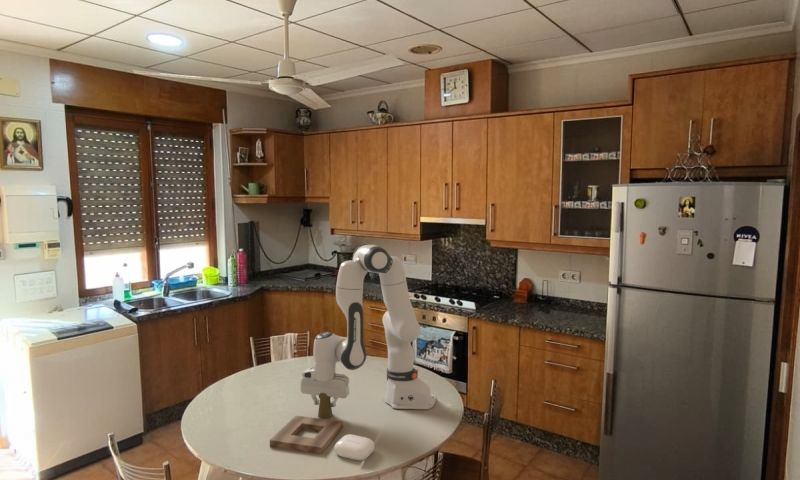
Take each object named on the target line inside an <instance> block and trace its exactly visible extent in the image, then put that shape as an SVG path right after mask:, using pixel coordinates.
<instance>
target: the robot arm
mask: <svg viewBox="0 0 800 480" xmlns="http://www.w3.org/2000/svg"><path fill="white" fill-rule="evenodd" d="M368 272H371V273H376V274H378V276H379V281H380V288H381V293H382V298H383V304H384V305H385V307H386V311H385V312H384V313H383V316H382V324H383V327H384V336H385V342H386V348H387V367H386V381H387V383H386V389H385V391H386V392H385V394H384V400H383V401H384V402H385V403H386V404H388V405H390V406H391V408H393V409H399V410H400V409H402V410H404V409H405V410H430V409H432V408H433V407H434V405H436V402H437V401H436V398H437V397H436V396H435V395H434V394H431V389H430V385H429V384H428V383H426V382H425V381H424V380H422V379H421V378H420V377H419V375H418V374H419V369H418V368H416V369H415V367H414V349H413V347H412V342H414V341H416V340H417V339H418V338H419V336H420V335H421V326H420V324H419V322H418V319H417V317H416V314H415V311H414V307H413V305H412V302H411V299H410V294H409V289H408V288H409V287H408V283H407V276H406V273H405V269H404V266H403V263H402V260H401V259H400V258H399V257H397V256H394V255H390V254H389V252H388V251H387V250H386V249H385V248H384V247H381V246H378V245H376V244H366V243H364V244H360V245H359V246H358V247H356V248H355V250H354V251H353V254H352V255H351V257H350V259H349V260H345V261H344V262H342V263H341V264H340V265H339V270H338V273H337V278H336V285H335V286H336V288H335V299H336V303H337V306H338V307H339V308H340V309H341V311H342V313H343V314H344V316H345V319H346V323H347V324H346V325H347V326H346V327H347V332H346V333H347V334H346V336H340V335H337V334H335V333H333V332H332V331H324V332H320V333H318V334H317V335H316V336H315V337H314V342H313V351H312V353H313V354H312V355H313V359H314V363H313V366H309V367H308V368H306V369H305V370H304V371H303V372H302V373H301V375H302V378H301V381H300V392H301V393H302V394H304V395H305V394H306V395H311V399H312V400H313V405H314V406H319V403H320V399H318V397H317V396H319V394H320V393H325V394H327V396H329V397H331V398H332V399H333V401H331V408H336V407H337V402H338V399H346V398H347V397H348V396H349V395H350V387H349V383H350V378H349V377H348V376H347V375H346V374H344V373H343V374H341V373H336V372H337V370H336V369H337V367H336V364H337V363H338V362H340V363H341V364H342V365H343V366H344V367H345V368H346V370H347V369H348V370H350V371H355V370H357V369H360V368H361V367H363V365H364V364H365V362H366V360H367V350H366V348H365V344H364V310H363V309H364V308H363V294H364V293H363V291H364V281H365V277H366V275H367V274H368Z"/></svg>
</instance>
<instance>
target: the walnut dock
mask: <svg viewBox="0 0 800 480" xmlns="http://www.w3.org/2000/svg"><path fill="white" fill-rule="evenodd" d="M343 429H344V421H341V420H340V421H339V420H334V419H328V418H327V419H322V418H319V417H311V416H310V417H309V416H301V415H294V417H293V418H291V420H289V422H287V423H286V424H285V425H284V426H283V427H282V428H281V429H280V430H279V431H277V432H276V434H274V435H273V436H272V437H271V438H270V439H269V447H270V448H276V449H284V450H289V451H290V450H291V451H297V452H303V453H310V454H317V455H323V453H324V452H325V451H326V450H327V449H328V447H329V446H330V445H331V443H332V442H333V441H334V440H335V438H336V437H337V436H338V435H339V434H340V432H341V431H342V430H343ZM302 430H303V431H312V432H318V433H317V434H316V436H315V437H309V436H308V437H307V436H300V435H298V434H300V433H301V431H302Z"/></svg>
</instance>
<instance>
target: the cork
mask: <svg viewBox="0 0 800 480" xmlns="http://www.w3.org/2000/svg"><path fill="white" fill-rule="evenodd" d="M318 398H319V405H318V414H317V418H319V419H327V420H328V419H330V418H331V417H333V410H332V408H333V407H331V402H332V401H331V398H332V397H329V396H327V394H325V393H320V394H319V395H318Z"/></svg>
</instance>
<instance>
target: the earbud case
mask: <svg viewBox="0 0 800 480" xmlns="http://www.w3.org/2000/svg"><path fill="white" fill-rule="evenodd" d="M333 448H334V453H335V454H336V455H337V456H338V457H342V458H346V459H350V460H353V461H359V462H360V461H364V460H366V459H368V457H369V456H370V455H372V453H373V452H374V451H375V443H374V441H373V440H372V439H371V438H369V437H366V436H362V435H361V436H360V435H357V434H349V433H348V434H345V435H343V436H342V437H341V438H339V439H338V440H337V442H336V443H335V444H334V447H333Z"/></svg>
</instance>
